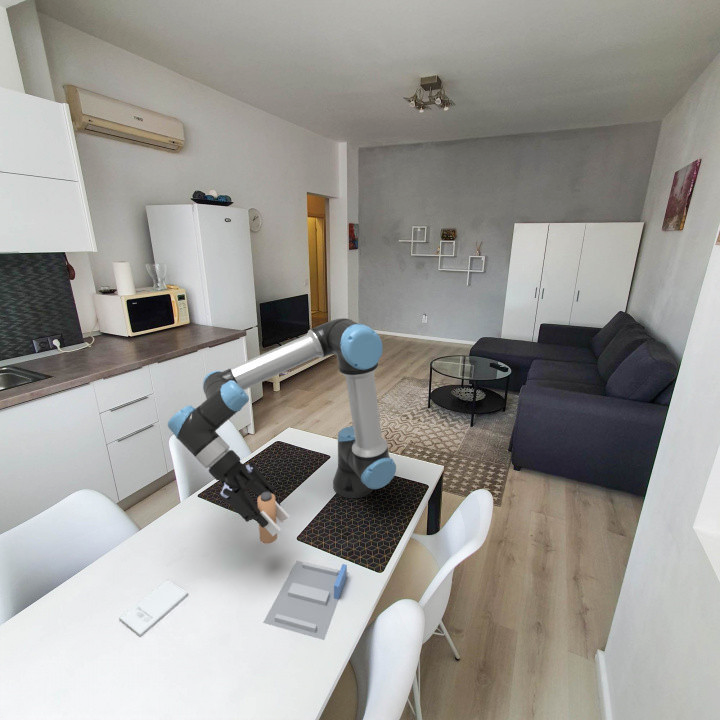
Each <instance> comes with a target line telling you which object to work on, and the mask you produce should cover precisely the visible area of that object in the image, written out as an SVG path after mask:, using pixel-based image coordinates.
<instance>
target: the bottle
mask: <svg viewBox="0 0 720 720" xmlns="http://www.w3.org/2000/svg"><path fill="white" fill-rule="evenodd" d="M275 499H276V494H275V495H274V494H272V493H270V492H264V493H262V494H261V495H260V496H258V497H257V499H256V500H257V507H258V509H259V510H260V512H262V511H264V512H265V513H266V514H267V515H268V516H269V517H270V518H271V519H272V520H273V521H274V523H275V524H276V525H277V517H276V502H275ZM277 526H278V525H277ZM258 531H259V540H260V542H261V543H262V544H265V545H268V544H272V543H275V542H276V540H277V538H278V533H277V534H275V535H274V536H272V535H271V534H270V533H269V532H268V531H267V529H266V528H265V527H264V528H263V527H261V526H260V525H259V524H258Z"/></svg>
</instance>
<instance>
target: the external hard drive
mask: <svg viewBox="0 0 720 720" xmlns="http://www.w3.org/2000/svg"><path fill="white" fill-rule="evenodd" d="M187 597H189V593H188V592H187V591H186V590H184V589H183V587H182V588H181V587H180V586H178V585H177V584H175V582H172V581H171V580H170V579H166V580H165V581H163V582H162V583H161V584H160V585H158V586H157V587H156V588H155V589H153V590H152V591H151V592H150V593H149V594H147V595H146V596H144V597H143V598H142V599H141V600H140V601H138V602H137V603H136V604H135V605H134V606H132V607H131V608H130V609H129V610H127V611H126V612H125V613H124V614H122V615H121V616H120V617H119V618H118V619H119V622H121V623H122V624H123V625H125V626H126V627H127V628H129V629H130V630H131V632H133V633H134V634H136V635H137V636H138V637H139V638H141V637H143V636H144V635H145V634H147V632H149V631H150V630H151V629H153V627H155V626H156V624H158V623H159V622H160V621H161V620H162V619H164V617H165V616H167V615H168V614H169V613H170V612H172V610H173V609H175V608H176V607H177V606H178V605H179V604H181V602H182V601H184V600H185V599H186V598H187Z"/></svg>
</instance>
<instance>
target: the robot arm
mask: <svg viewBox="0 0 720 720" xmlns="http://www.w3.org/2000/svg"><path fill="white" fill-rule="evenodd" d="M383 347H384V346H383V342H382V339H381V337H380V336H379V334H378V333H377V331H375V330H374V329H372V328H371V327H369V326H368V325H365V324H363V323H358V322H357V321H354V320H352V319H349V318H346V317H345V318H344V317H343V318H336V319H333V320H329V321H328V322H325V323H322V324H320V325H318V326H315V327H313V328H311V329H309V330H308V331H307V333H306V334H305V335H303V336H301V337H297V338H296V339H294V340H291V341H289V342H287V343H286V344H283V345H281V346H280V345H279V347H276V348H273V349H271V350H269V351H267V352H264V353H262V354H260V355H258V356H256V357H253V358H251V359H249V360H246V361H244V362H242V363H238V364H237V365H235V366H233V367H231V368H228V369H226V370H223V371H222V370H214V371H210V372H208V373H207V374H206V376H205V377H204V378H203V381H202V382H203V383H202V386H203V387H202V389H203V393H204V394H205V398H206V400H204V402H202V403H201V404H200V405H199V406H197V407H194V406H192V405H187V406H184V407H183V408H182V409H180V410H179V411H177V412H175V414H174V415H173V416H172V417H170V418H169V420H168V421H167V427H168V429H169V430H170V431H171V432H172V434H173V435H174V436H175V438H176V439H177V440H178V441H179V442H180V443H181V444H182V445H183V446H184V447H185V448H186V449H187V450H188V451H189V452H190V453H191V455H193V457H194V458H195V459H196V460H197V461H198V462H199V463H200V464H201V465H202V466H203V467H204V469H208V468H209V469H208V473H209V474H210V475H211V476H212V478H214V480H216V481H219V482H220V483H221V485H222V490H221V491H220V492H219V493H218V497H219V498H220V499H222V500H224V501H226V502H227V503H228V505H230V506H231V507H232V509H233V510H235V512H236V513H237V514H238V515H239V516H240V517H241V518H242V519H243V520H244V521H245V522H250V521H253V520H254V521H256V522H257V524H258V526H259V525H260V526H261V527H263V528H264V527H265V528H266V529H267V531H268V532H269V533H270V534H271V535H272V536H274V535H275V534H277V535H278V534H279V533H280V532H281V530H282V529H281V528H280V526H279V525H276V524H275V523H274V521H273V520H272V519H271V518H270V517H269V516H268V515H267V514H266V513H265V512H264V511H262V512H260V510H259V509H258V505H257V504H256V502H255V501H254V499H253V498H252V496H251V495H250V493H249V492H248V490H250V491H251V492H252V493H254V494H255V495H256V496H258V497H259V496H260V495H261V494H262V493H264V492H270V493H272V494H274V495H275V496H276V493H275V491H276V489H275V487H274V486H273V485H272V484H271V483H270V481H268V480H267V477H265V476H264V475H263V474H262V472H261V471H260V470H259V469H258V468H257V466H256V464H255V463H254V462H253V461H251V462H249V464H247V465H246V464H244V463H242V462H241V458H240V456H239V455H238V454H237V453H236V452H235V451H234V450H233V449H230V444H228V443H227V442H226V441H225V440H224V439H223V438H222V437H221V436H220V435H219V434H218V433H217V430H218V429H220V428H221V426H222V425H224V424H226V422H228V421H229V420H230V419H231V418H232V417H233V416H235V415H236V413H238V412H240V411H241V410H242V409H243V407H244V406H245V405H246V404H248V403H249V401H250V397H249V395H248V393H247V392H246V390H248V389H250V388H252V387H254V386H257V385H258V384H261V383H263V382H265V381H267V380H269V379H271V378H274V377H276V376H278V375H280V374H282V373H284V372H287V371H290V370H291V369H293V368H295V367H299V366H300V365H301V364H305V363H306V362H308V361H310V360H314V359H315V358H320V359H324V358H325V357H327V356H332V355H335V356H336V357H337V362H338V363H337V364H338V369H339V370H338V371H339V373H340V374H341V375H343V376H345V381H346V388H347V394H348V401H349V408H350V413H351V422H352V425H349V426H346V427H343V428H342V429H341V430H339V432H338V434H337V468H336V472H335V475H334V477H333V480H332V488H333V490H334V492H335V493H336V494H338V496H341V497H343V498H347V499H359V498H364V497H367V496H368V495H370V494H371V493H372V492H373V491H374V490H377V489H378V490H379V489H381V488H384V487H386V486H387V485H388V484H389V483H390V482H391V481H392V480H393V479H394V477H395V475H396V472H397V465H396V463H395V461H394V459H393V458H392V457H390V454H389V452H390V451H389V445H388V442H387V440H386V439H385V438H383V435H382V427H381V420H380V419H381V418H380V411H379V403H378V396H377V395H378V394H377V387H376V380H375V372H376V371H377V369H379V368H378V367H379V362H380V358H382V356H383V349H384V348H383ZM247 489H248V490H247ZM275 502H276V519H278V520H279V522H281V523H283V522H285V521H286V520H288V519H289V518H290V515H289V514H288V513H287V512H286V511H285V509H284V508H283V507H282V506H281V503H280V501H278V500H277V499H276V498H275Z"/></svg>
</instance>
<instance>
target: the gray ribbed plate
mask: <svg viewBox="0 0 720 720" xmlns="http://www.w3.org/2000/svg"><path fill="white" fill-rule="evenodd" d="M292 566H293V567H292V568H291V570H290V572H289V574H288V575H287V577H286V579H285V582H283V585H282V587H281V589H280V590H279V591H278V594H277V596H276V598H275V599H274V602H273V604H272V606H271V607H270V609H269V611H268V613H267V614H266V616H265V618H264V620H263V624H266V625H270V626H273V627H277V628H281V629H284V630H288V631H291V632H294V633H298V634H301V635H306V636H308V637H312V638H315V639H319V640H323V641H324V640H325V639H326V636H327V633H328V629H329V628H330V625H331V622H332V619H333V616H334V615H335V610H336V608H337V605H338V603H339V600H340V597H341V594H342V591H343V588H344V586H345V584H346V581H347V577H348V575H349V571H348V569H347V568H348V565H347V564H345V563H342V564H341V566H340V568H339V569H338V568H332V567H328V566H323V565H320V564H316V563H311V562H306V561H301V560H296V561H295V563H294V565H292Z"/></svg>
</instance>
